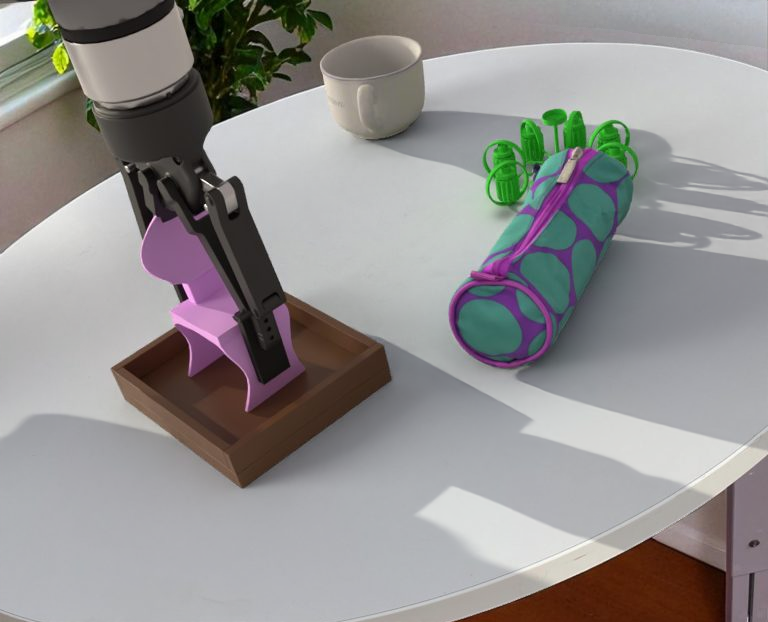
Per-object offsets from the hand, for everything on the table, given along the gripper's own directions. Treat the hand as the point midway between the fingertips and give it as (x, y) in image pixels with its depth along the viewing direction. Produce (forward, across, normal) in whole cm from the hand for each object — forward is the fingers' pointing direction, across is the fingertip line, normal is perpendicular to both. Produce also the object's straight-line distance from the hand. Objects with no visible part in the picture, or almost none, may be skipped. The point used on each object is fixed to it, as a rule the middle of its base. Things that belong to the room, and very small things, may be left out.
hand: (241, 353), depth 86 cm
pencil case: (+4, -12, -23) cm, 26 cm away
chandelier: (+4, -1, -37) cm, 37 cm away
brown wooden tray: (+4, 0, 0) cm, 4 cm away
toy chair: (+3, 0, 0) cm, 3 cm away
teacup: (+4, +24, -35) cm, 43 cm away
